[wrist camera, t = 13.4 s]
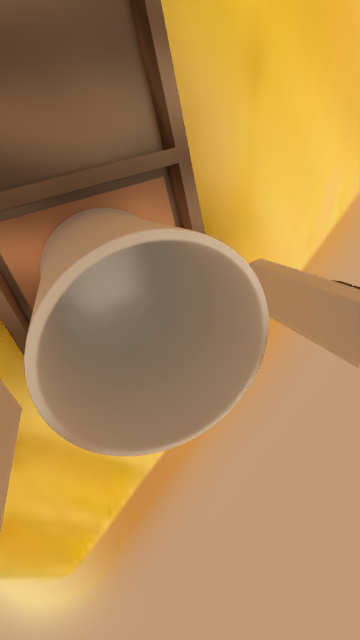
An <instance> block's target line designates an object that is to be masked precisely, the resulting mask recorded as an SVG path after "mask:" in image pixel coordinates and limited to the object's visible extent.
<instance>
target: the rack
mask: <svg viewBox="0 0 360 640" xmlns="http://www.w3.org/2000/svg"><path fill="white" fill-rule="evenodd" d="M93 208H114V209H119V210H123V211H126V212H128V213H131V214H133V215H135V216H137V217H138V218H140V219H144V220H149V221H153V222H157V223H162V224H166V225H171V226H175V227H179V228H184V229H188V230H192V231H196V232H199V233H203V234H205V232H204V227H203V222H202V217H201V211H200V206H199V201H198V196H197V190H196V185H195V180H194V174H193V169H192V164H191V159H190V153H189V148H188V143H187V137H186V132H185V127H184V122H183V116H182V111H181V106H180V101H179V95H178V90H177V85H176V79H175V74H174V69H173V64H172V58H171V53H170V48H169V42H168V37H167V32H166V27H165V21H164V16H163V11H162V6H161V0H0V319H1V320H2V322H3V324H4V325H5V327H6V328H7V330H8V331H9V333H10V335H11V336H12V338H13V339H14V341H15V342H16V344H17V346H18V347H19V349H20V350H21V352H22V354H23V355H25V345H26V339H27V334H28V329H29V325H30V321H31V317H32V313H33V308H34V304H35V300H36V296H37V292H38V288H39V284H40V280H41V277H40V261H41V256H42V252H43V249H44V246H45V244H46V242H47V240H48V238H49V237H50V235H51V234H52V232H53V231H54V230H55V229H56V228H57V227H58V226H59V225H60V224H61V223H62V222H63V221H65V220H66V219H67V218H69V217H71V216H72V215H74V214H76V213H79V212H81V211H84V210H88V209H93Z"/></svg>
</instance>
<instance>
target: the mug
mask: <svg viewBox="0 0 360 640" xmlns="http://www.w3.org/2000/svg"><path fill="white" fill-rule="evenodd" d="M40 277H41V280H40V284H39V288H38V292H37V296H36V300H35V304H34V308H33V313H32V317H31V321H30V325H29V329H28V334H27V339H26V345H25V355H24V368H25V377H26V383H27V387H28V390H29V393H30V396H31V399H32V401H33V403H34V405H35V407H36V409H37V411H38V412H39V414H40V415H41V417H42V418H43V419H44V420H45V422H46V423H47V424H48V425H49V426H50V427H51V428H52V429H53V430H54V431H55V432H56V433H57V434H59V435H60V436H61V437H63V438H64V439H66V440H67V441H69V442H71V443H72V444H74V445H76V446H78V447H81V448H83V449H86V450H89V451H92V452H95V453H99V454H104V455H111V456H140V455H147V454H153V453H157V452H161V451H165V450H168V449H171V448H173V447H176V446H178V445H181V444H183V443H185V442H188V441H189V440H191V439H193V438H195V437H197V436H199V435H200V434H202V433H204V432H205V431H207V430H208V429H209V428H211V427H212V426H213V425H215V424H216V423H217V422H219V421H220V420H221V419H222V418H223V417H224V416H225V415H226V414H227V413H228V412H229V411H230V410H231V409H232V408H233V407H234V406H235V405H236V404H237V403H238V401H239V400H240V399H241V398H242V396H243V395H244V394H245V392H246V391H247V389H248V388H249V386H250V384H251V383H252V381H253V379H254V378H255V376H256V374H257V371H258V369H259V367H260V365H261V362H262V359H263V356H264V353H265V349H266V345H267V339H268V330H269V315H268V307H267V302H266V298H265V294H264V291H263V288H262V286H261V284H260V282H259V280H258V278H257V276H256V274H255V273H254V271H253V270H252V268H251V267H250V265H249V264H248V263H247V262H246V261H245V260H244V259H243V258H242V257H241V256H240V255H239V254H238V253H237V252H236V251H235V250H233V249H232V248H231V247H229V246H228V245H226V244H224V243H223V242H221V241H219V240H217V239H215V238H213V237H211V236H208V235H205V234H203V233H199V232H196V231H192V230H188V229H184V228H179V227H175V226H171V225H166V224H162V223H157V222H153V221H149V220H144V219H140V218H138V217H137V216H135V215H133V214H131V213H128V212H126V211H123V210H119V209H114V208H93V209H88V210H84V211H81V212H79V213H76V214H74V215H72V216H71V217H69V218H67V219H66V220H65V221H63V222H62V223H61V224H60V225H59V226H58V227H57V228H56V229H55V230H54V231H53V232H52V234H51V235H50V237H49V238H48V240H47V242H46V244H45V246H44V249H43V252H42V256H41V261H40Z"/></svg>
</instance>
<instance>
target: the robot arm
mask: <svg viewBox="0 0 360 640" xmlns="http://www.w3.org/2000/svg"><path fill="white" fill-rule="evenodd" d="M249 265H250V267H251V268H252V270H253V271H254V273H255V274H256V276H257V278H258V280H259V282H260V284H261V286H262V288H263V291H264V294H265V298H266V302H267V307H268V315H269V317H271V318H273V319H275V320H276V321H278V322H280V323H281V324H283V325H285V326H287V327H288V328H290V329H292V330H294V331H295V332H297V333H299V334H300V335H302V336H304V337H306V338H307V339H309V340H311V341H313V342H314V343H316V344H318V345H320V346H321V347H323V348H325V349H326V350H328V351H330V352H332V353H333V354H335V355H337V356H339V357H340V358H342V359H344V360H346V361H347V362H349V363H351V364H352V365H354V366H356V367H358V368H360V287H357V286H352V285H351V284H348V283H345V282H341V281H333V280H328V279H325V278H322V277H318V276H316V275H312V274H309V273H306V272H303V271H300V270H296V269H293V268H290V267H287V266H284V265H280V264H277V263H274V262H271V261H268V260H264V259H259V260H256V261H253V262H251V263H249ZM21 409H22V408H21V406H20V405H19V404H18V402H17V401H16V400H15V398H14V397H13V396H12V394H11V393H10V391H9V390H8V389H7V387H6V386H5V385H4V383H3V382H2V380H1V379H0V531H1V525H2V519H3V513H4V507H5V502H6V496H7V490H8V484H9V479H10V473H11V467H12V461H13V455H14V450H15V444H16V438H17V432H18V427H19V421H20V415H21Z"/></svg>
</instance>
